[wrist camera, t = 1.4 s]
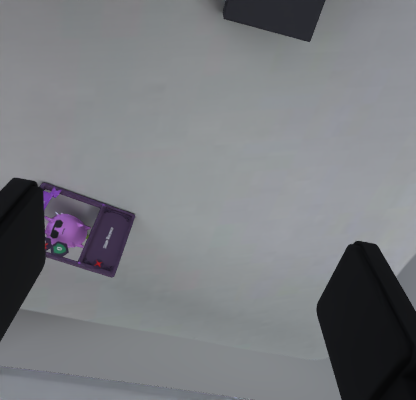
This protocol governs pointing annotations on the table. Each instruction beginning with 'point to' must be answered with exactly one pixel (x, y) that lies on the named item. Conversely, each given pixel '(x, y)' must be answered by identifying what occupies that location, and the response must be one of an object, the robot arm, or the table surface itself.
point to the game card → (77, 232)
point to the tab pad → (277, 15)
